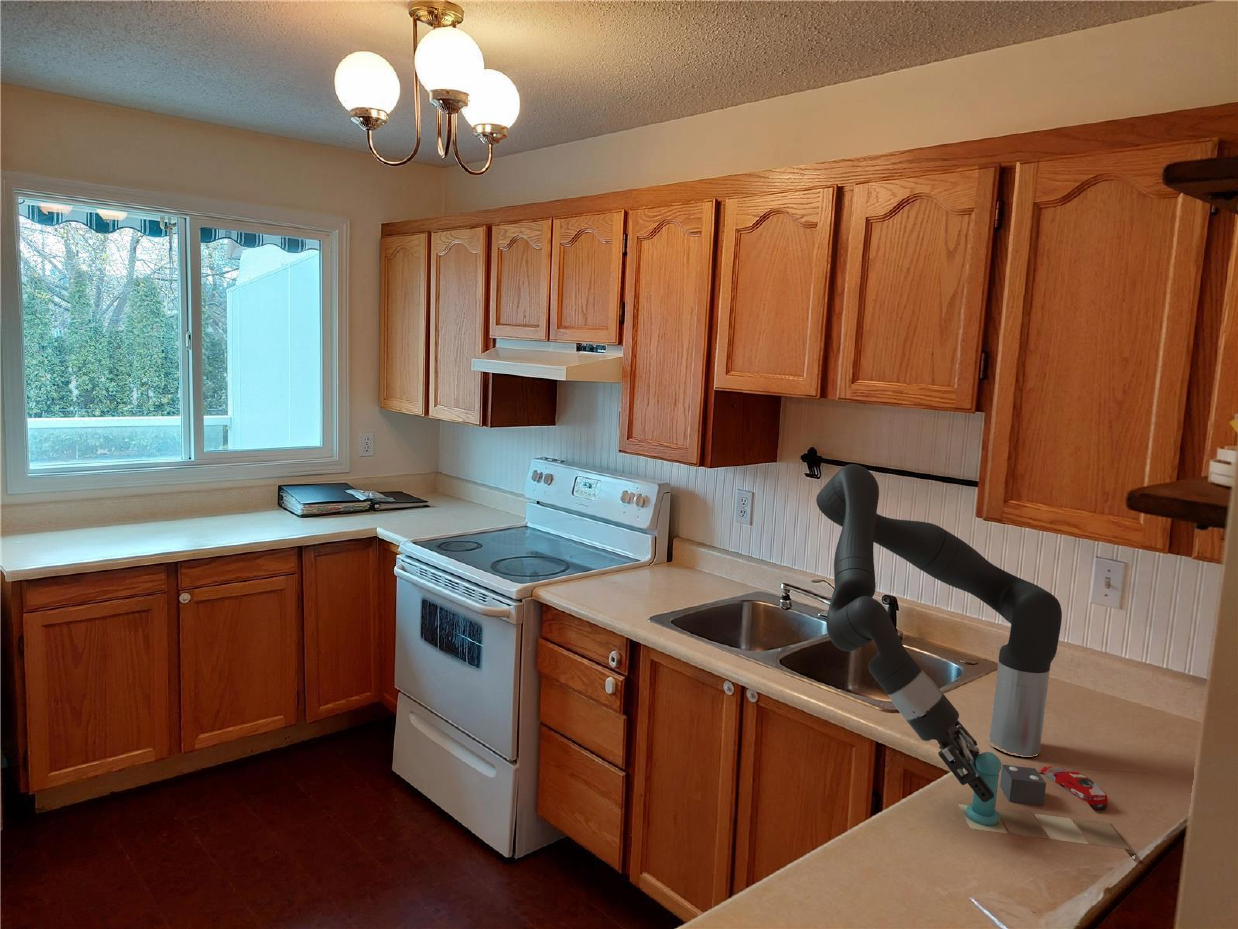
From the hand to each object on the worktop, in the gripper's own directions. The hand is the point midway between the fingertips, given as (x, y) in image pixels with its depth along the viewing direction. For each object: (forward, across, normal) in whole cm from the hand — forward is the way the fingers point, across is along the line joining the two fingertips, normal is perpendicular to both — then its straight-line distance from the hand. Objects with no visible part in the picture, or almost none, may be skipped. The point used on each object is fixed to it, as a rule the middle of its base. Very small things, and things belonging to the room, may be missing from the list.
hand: (989, 787), depth 137 cm
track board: (+11, -2, +1) cm, 11 cm away
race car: (+15, -22, +5) cm, 27 cm away
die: (+9, -12, -1) cm, 15 cm away
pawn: (+4, 0, -4) cm, 5 cm away
